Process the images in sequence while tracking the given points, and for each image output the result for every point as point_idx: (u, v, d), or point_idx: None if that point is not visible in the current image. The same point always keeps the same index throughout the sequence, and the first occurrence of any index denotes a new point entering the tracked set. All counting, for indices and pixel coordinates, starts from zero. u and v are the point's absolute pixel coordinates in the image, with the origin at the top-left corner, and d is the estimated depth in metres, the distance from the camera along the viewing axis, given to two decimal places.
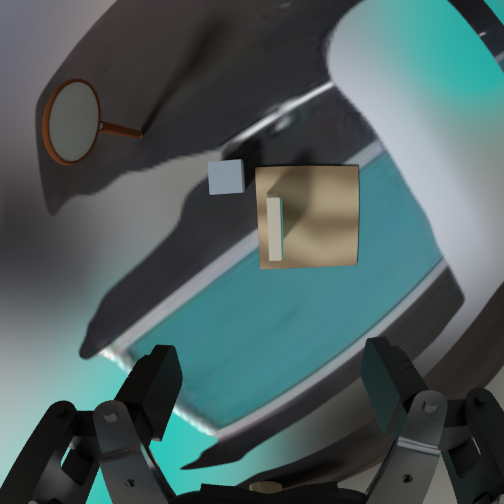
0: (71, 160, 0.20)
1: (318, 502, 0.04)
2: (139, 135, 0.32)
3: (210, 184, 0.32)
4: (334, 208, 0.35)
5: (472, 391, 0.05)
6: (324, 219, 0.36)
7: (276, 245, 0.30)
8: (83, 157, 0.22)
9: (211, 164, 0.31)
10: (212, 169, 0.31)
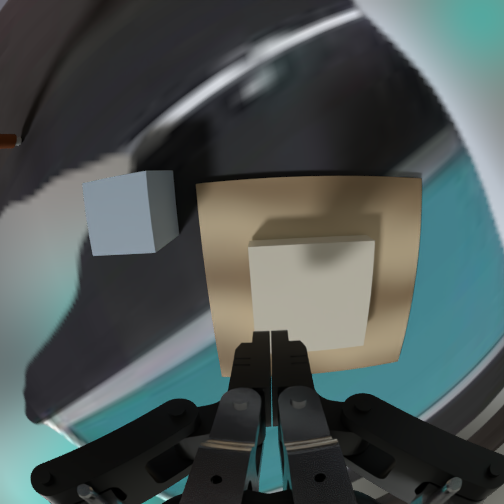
0: None
1: None
2: (11, 142, 0.13)
3: (91, 233, 0.13)
4: None
5: (347, 402, 0.06)
6: None
7: None
8: None
9: (88, 188, 0.12)
10: (91, 199, 0.12)
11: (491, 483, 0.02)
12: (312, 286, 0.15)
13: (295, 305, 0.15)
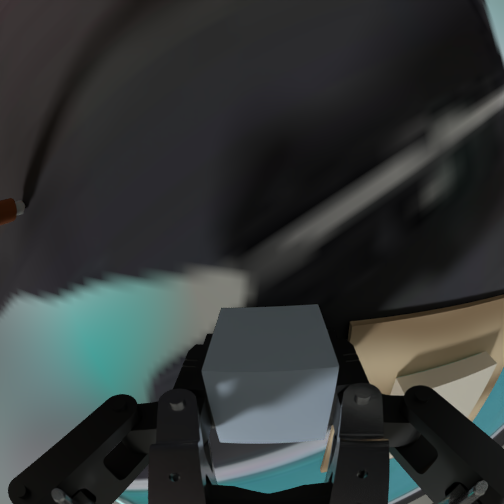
0: None
1: (318, 502, 0.04)
2: (8, 216, 0.09)
3: (219, 425, 0.08)
4: None
5: (409, 391, 0.06)
6: None
7: None
8: None
9: (216, 379, 0.07)
10: (222, 393, 0.08)
11: None
12: None
13: None
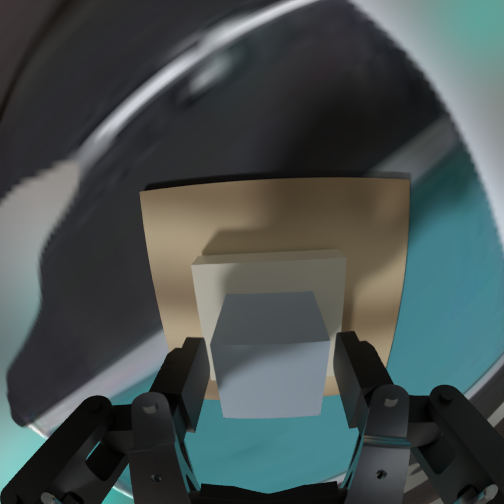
0: None
1: (318, 502, 0.04)
2: None
3: (224, 399, 0.09)
4: (346, 288, 0.14)
5: (435, 389, 0.06)
6: None
7: None
8: None
9: (222, 352, 0.09)
10: (228, 366, 0.09)
11: None
12: None
13: None
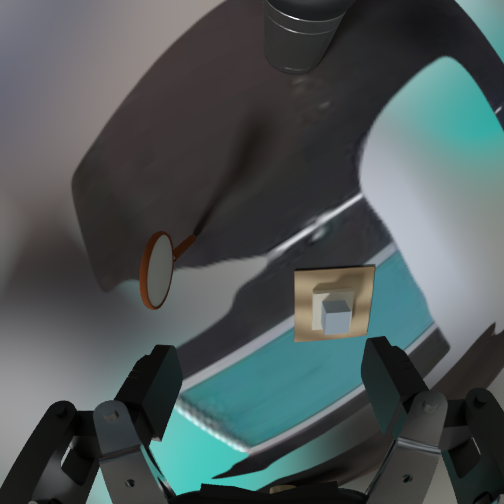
0: (161, 302, 0.29)
1: (318, 502, 0.04)
2: (194, 241, 0.42)
3: (326, 328, 0.40)
4: (353, 298, 0.45)
5: (472, 391, 0.05)
6: None
7: None
8: (167, 293, 0.31)
9: (328, 315, 0.40)
10: (329, 318, 0.40)
11: None
12: None
13: None
